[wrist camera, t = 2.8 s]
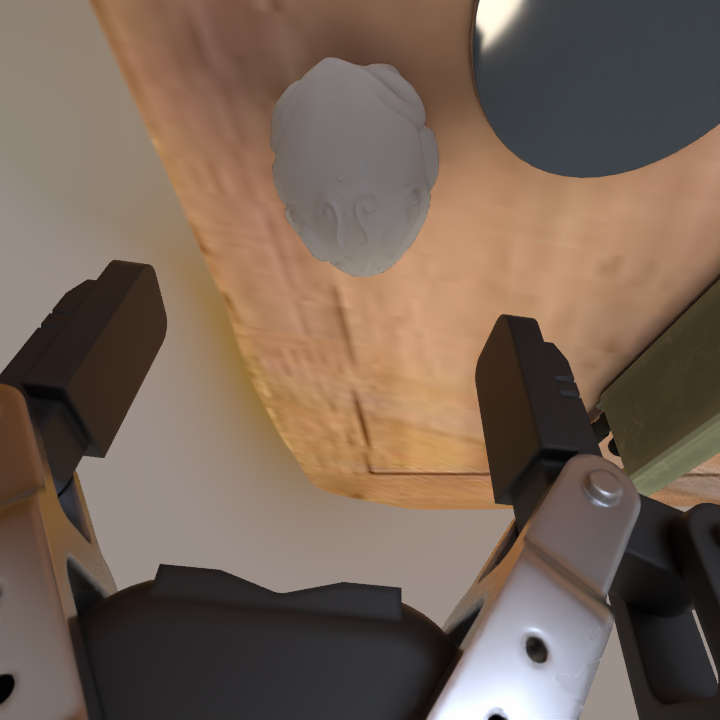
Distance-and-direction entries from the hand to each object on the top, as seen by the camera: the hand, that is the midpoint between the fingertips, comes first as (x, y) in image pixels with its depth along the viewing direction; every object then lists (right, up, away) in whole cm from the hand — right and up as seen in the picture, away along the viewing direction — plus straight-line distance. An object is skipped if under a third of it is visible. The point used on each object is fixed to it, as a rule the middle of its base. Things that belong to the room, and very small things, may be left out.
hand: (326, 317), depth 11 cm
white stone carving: (+1, +9, +8) cm, 12 cm away
